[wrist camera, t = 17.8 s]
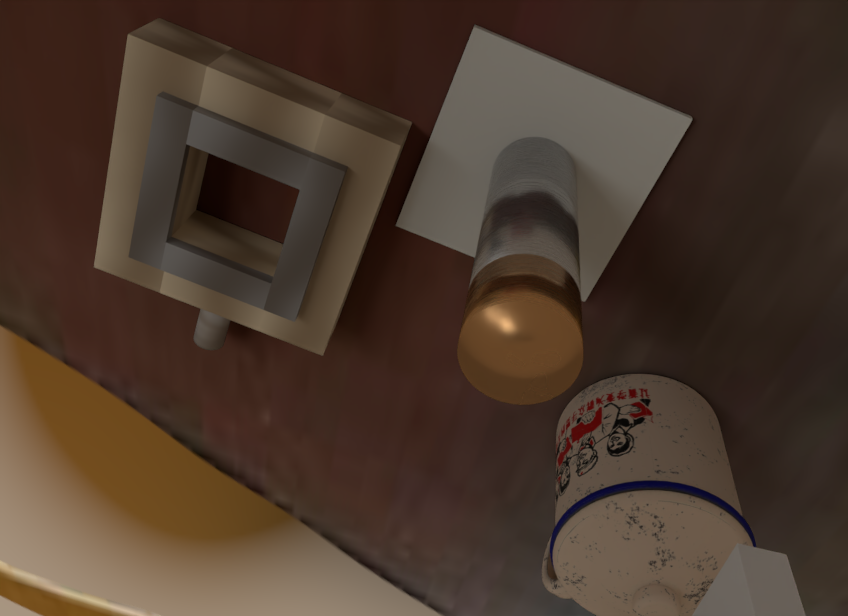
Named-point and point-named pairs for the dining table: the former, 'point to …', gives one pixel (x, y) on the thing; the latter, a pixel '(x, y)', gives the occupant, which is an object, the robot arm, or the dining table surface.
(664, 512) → the teacup with lid
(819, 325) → the dining table surface
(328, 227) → the chuck block
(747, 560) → the robot arm
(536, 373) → the copper capped silver cylinder
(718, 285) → the dining table surface
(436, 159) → the mat
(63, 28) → the dining table surface
